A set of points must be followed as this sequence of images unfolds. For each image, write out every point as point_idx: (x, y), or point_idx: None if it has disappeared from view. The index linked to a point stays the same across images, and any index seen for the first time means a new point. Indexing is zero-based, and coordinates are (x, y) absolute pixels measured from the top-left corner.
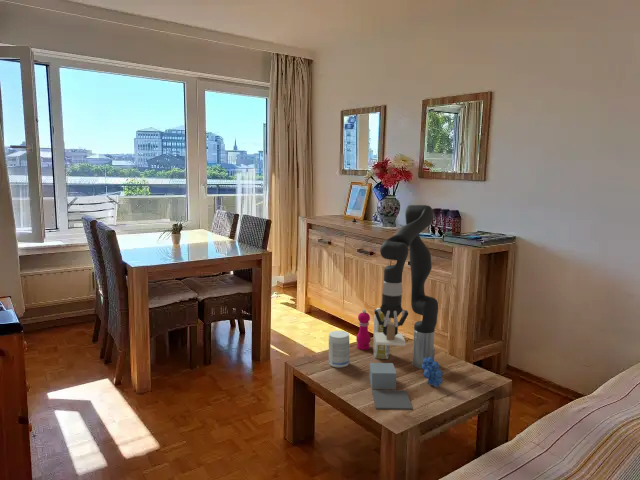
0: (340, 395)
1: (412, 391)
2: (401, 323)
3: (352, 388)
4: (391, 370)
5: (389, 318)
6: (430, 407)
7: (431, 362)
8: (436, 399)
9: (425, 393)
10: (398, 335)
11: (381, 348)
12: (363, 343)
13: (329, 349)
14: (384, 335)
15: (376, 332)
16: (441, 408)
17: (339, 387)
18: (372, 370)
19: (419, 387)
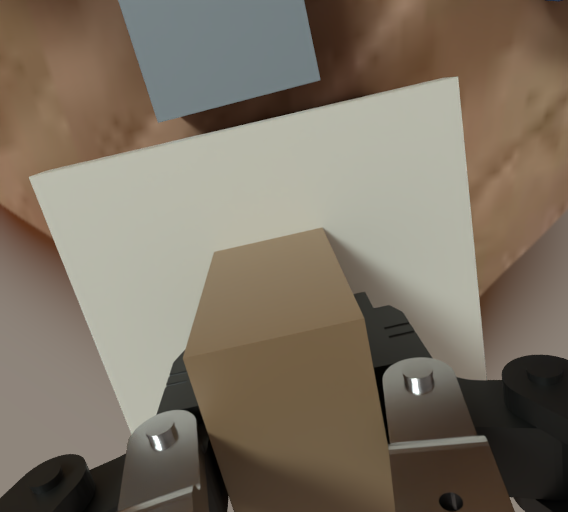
0: (43, 231)
1: (403, 79)
2: (564, 509)
3: (75, 139)
4: (282, 36)
5: None
6: (483, 224)
7: None
8: (524, 136)
9: (474, 83)
10: (404, 194)
11: None
12: None
13: None
14: (203, 264)
15: (57, 176)
16: (534, 219)
17: (3, 148)
18: (150, 77)
19: (446, 12)
